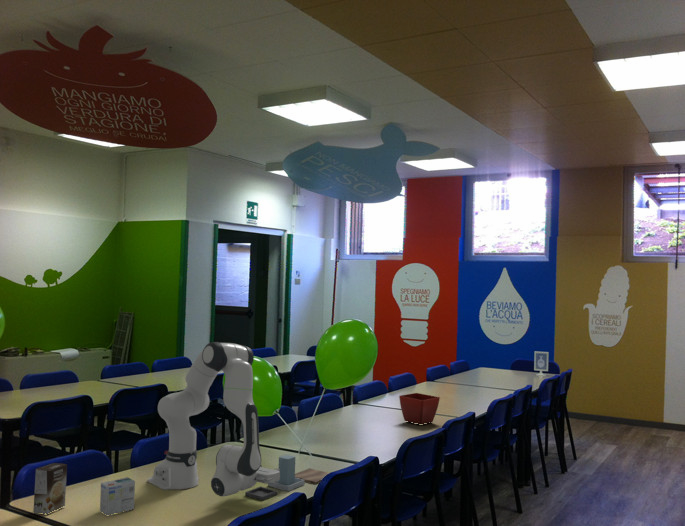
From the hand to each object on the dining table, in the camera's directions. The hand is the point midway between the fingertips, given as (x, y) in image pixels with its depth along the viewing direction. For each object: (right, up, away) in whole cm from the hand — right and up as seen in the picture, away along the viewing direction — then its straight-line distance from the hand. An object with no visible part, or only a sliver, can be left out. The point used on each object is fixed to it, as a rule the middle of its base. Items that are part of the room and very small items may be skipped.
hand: (269, 468), depth 252 cm
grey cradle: (+6, -10, +10) cm, 16 cm away
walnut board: (+17, -11, +22) cm, 30 cm away
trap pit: (-3, -10, -3) cm, 11 cm away
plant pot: (+79, -18, +139) cm, 161 cm away
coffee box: (-78, -7, -27) cm, 82 cm away
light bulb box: (-54, -8, -25) cm, 59 cm away
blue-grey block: (+6, -10, +10) cm, 16 cm away
